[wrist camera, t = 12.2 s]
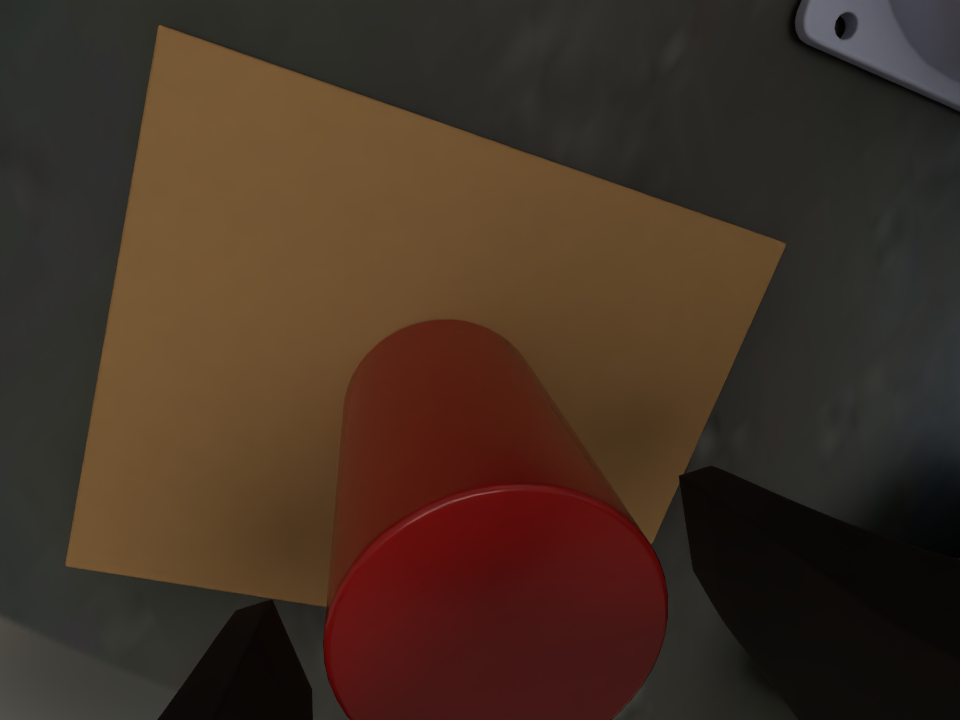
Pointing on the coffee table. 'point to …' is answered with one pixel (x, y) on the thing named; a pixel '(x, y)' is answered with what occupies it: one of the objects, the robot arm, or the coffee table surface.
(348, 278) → the mat
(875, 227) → the coffee table surface
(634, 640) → the can
